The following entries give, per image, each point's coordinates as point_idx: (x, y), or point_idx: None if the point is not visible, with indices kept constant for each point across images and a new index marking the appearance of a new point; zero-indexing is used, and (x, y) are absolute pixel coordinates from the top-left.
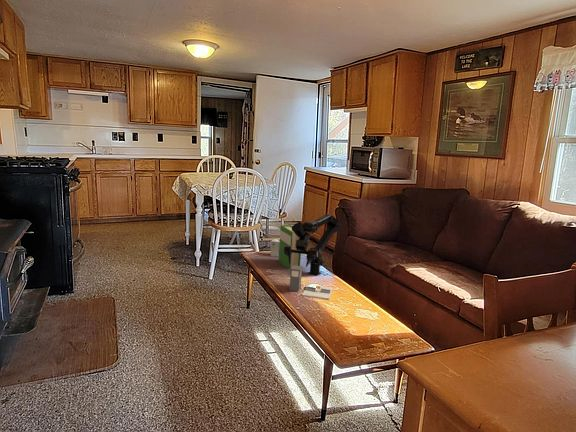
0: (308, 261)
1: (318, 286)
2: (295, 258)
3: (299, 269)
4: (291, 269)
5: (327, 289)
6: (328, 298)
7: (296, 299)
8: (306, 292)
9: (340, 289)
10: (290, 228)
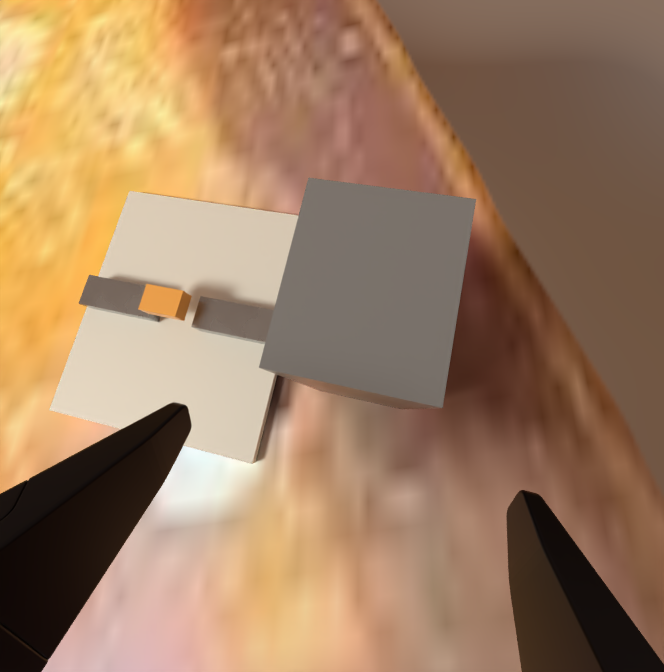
0: (64, 464)
1: (160, 298)
2: None
3: (318, 191)
4: (457, 204)
5: (101, 307)
6: (135, 192)
7: (359, 153)
8: (279, 265)
9: (3, 403)
10: None
